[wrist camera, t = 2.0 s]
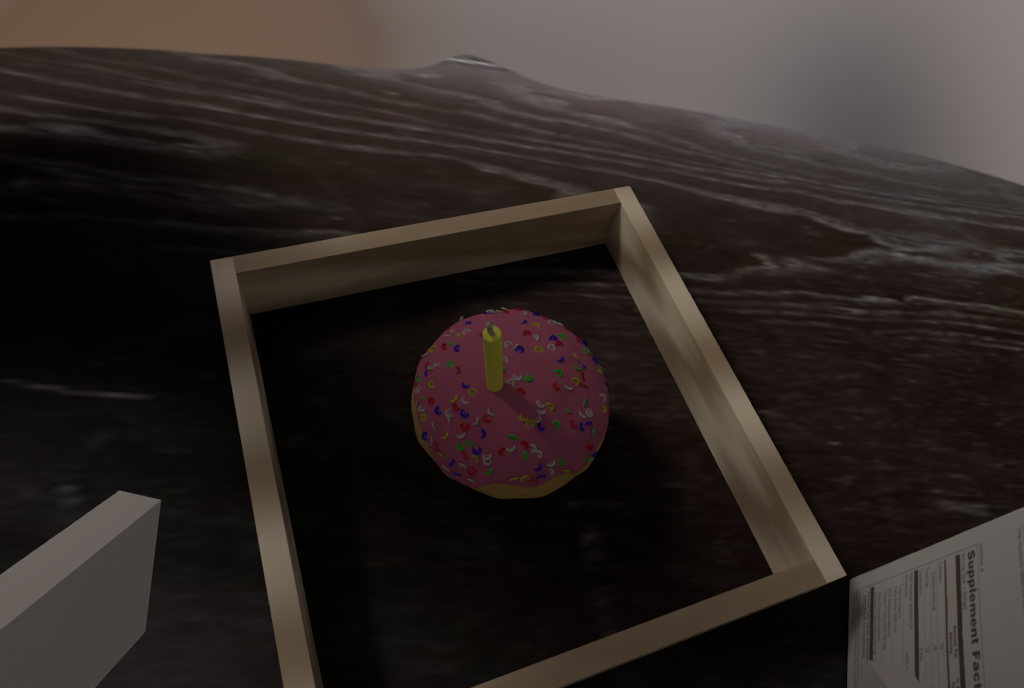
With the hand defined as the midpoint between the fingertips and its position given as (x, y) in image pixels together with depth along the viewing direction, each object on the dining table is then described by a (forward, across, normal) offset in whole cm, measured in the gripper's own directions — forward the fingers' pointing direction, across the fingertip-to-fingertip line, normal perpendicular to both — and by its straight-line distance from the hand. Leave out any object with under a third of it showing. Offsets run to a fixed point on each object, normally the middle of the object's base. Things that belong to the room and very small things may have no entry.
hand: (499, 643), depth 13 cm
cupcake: (+21, 0, -4) cm, 21 cm away
